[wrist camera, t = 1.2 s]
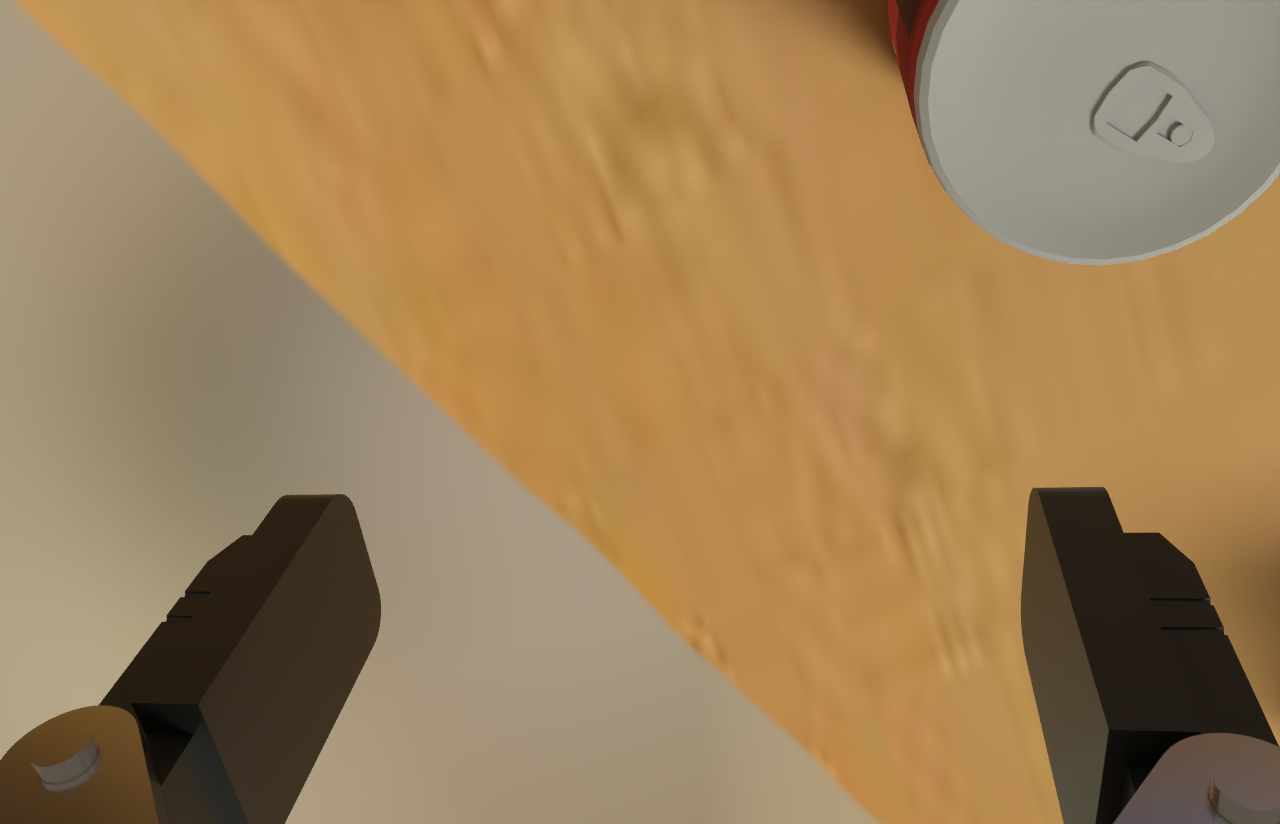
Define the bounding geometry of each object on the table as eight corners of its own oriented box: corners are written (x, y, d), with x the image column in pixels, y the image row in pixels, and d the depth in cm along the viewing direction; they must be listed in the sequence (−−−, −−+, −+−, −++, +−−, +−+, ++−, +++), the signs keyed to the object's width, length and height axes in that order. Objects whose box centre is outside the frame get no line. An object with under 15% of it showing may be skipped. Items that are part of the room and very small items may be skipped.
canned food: (1103, 153, 34) (1217, 307, 24) (849, 90, 34) (864, 219, 24) (1224, -118, 30) (1417, -60, 20) (936, -189, 30) (994, -165, 20)
